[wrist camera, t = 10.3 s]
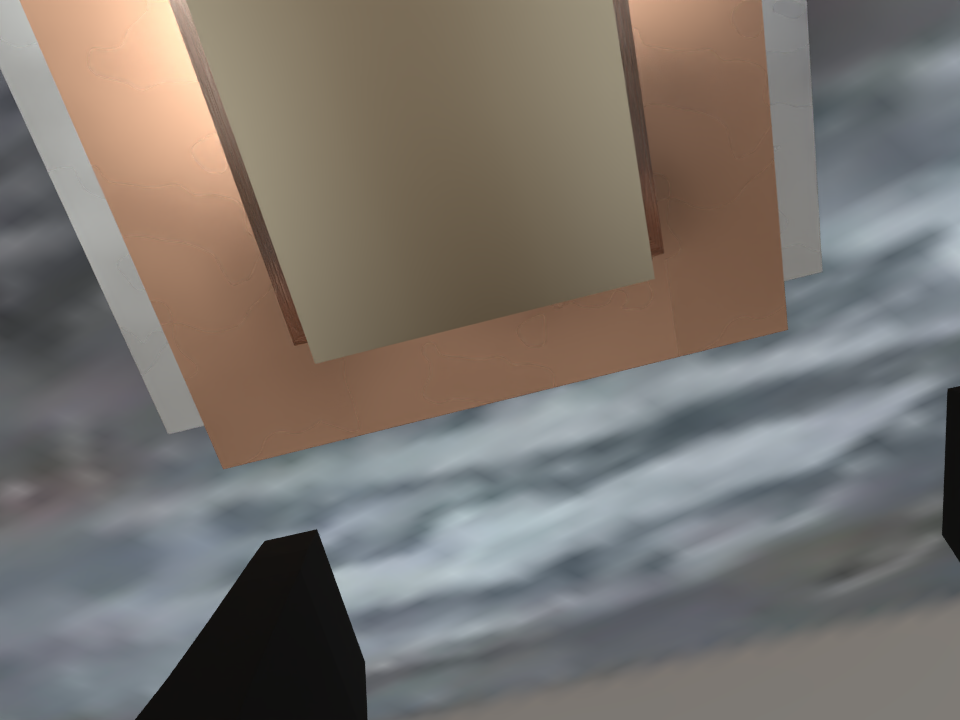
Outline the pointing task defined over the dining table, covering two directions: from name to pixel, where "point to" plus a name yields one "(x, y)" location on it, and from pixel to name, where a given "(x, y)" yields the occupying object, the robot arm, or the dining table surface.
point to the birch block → (431, 157)
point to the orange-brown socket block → (442, 356)
